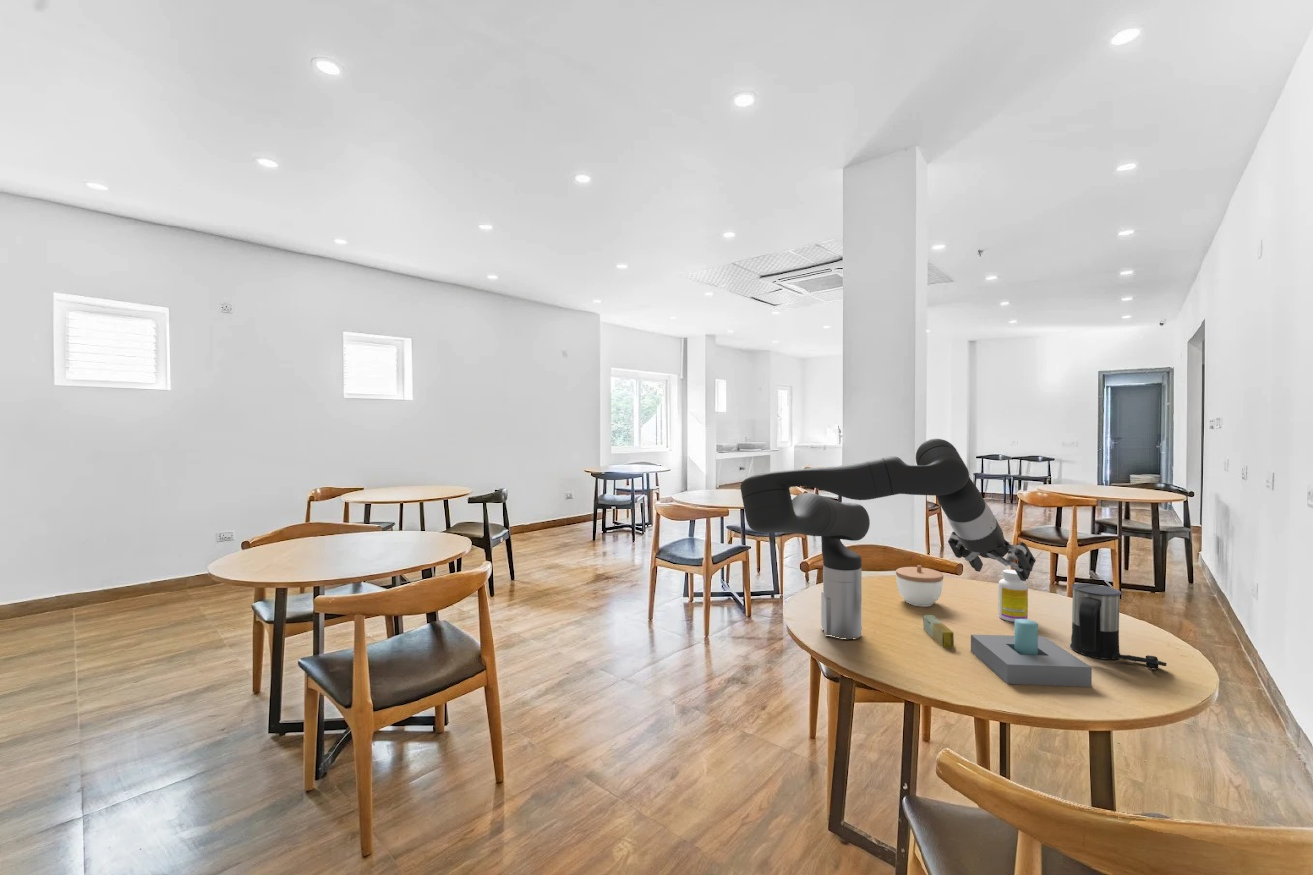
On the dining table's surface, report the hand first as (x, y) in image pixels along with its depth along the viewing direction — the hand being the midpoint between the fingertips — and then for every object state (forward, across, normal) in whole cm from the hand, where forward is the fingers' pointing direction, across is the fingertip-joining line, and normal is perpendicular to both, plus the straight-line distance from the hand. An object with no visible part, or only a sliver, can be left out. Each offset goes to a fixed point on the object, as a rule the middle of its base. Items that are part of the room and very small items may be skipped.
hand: (1001, 572), depth 113 cm
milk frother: (+40, +9, +7) cm, 41 cm away
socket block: (+24, 0, -8) cm, 26 cm away
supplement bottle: (+46, -15, +13) cm, 50 cm away
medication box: (+25, -20, -8) cm, 33 cm away
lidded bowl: (+40, -38, +8) cm, 55 cm away
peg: (+24, 0, -8) cm, 25 cm away
